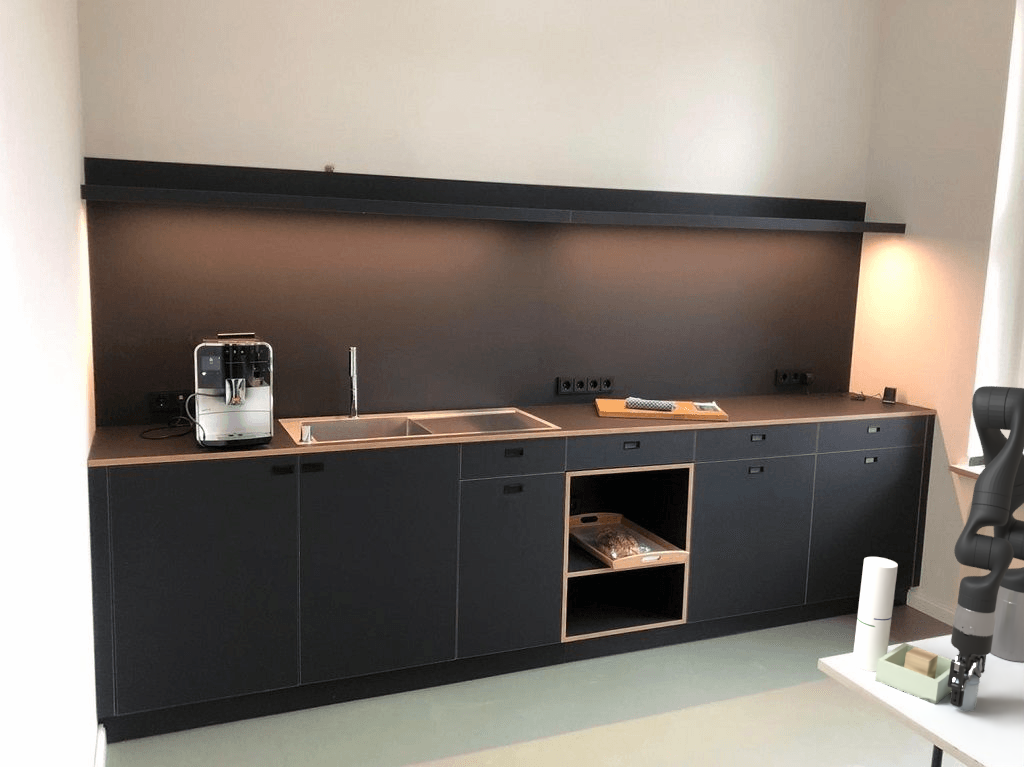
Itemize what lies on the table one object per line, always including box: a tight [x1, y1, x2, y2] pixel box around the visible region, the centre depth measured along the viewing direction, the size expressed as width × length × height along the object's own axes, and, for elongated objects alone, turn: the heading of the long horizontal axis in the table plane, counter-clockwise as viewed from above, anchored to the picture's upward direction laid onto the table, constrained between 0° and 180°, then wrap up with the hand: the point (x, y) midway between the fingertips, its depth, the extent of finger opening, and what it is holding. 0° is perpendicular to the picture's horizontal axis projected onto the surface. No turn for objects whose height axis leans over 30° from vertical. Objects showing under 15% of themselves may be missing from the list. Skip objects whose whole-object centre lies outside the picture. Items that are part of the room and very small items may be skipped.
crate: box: [875, 642, 952, 705], centre depth 191 cm, size 14×13×5 cm
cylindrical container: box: [852, 556, 898, 673], centre depth 197 cm, size 7×7×25 cm
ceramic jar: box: [952, 674, 981, 712], centre depth 181 cm, size 5×5×7 cm
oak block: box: [904, 646, 939, 679], centre depth 191 cm, size 5×5×6 cm
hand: (963, 699), depth 182 cm, fingers open, 8 cm apart
